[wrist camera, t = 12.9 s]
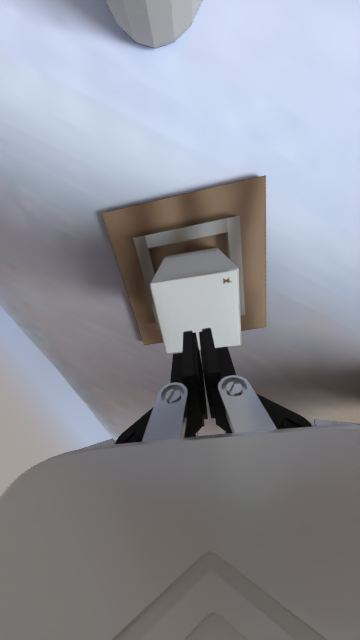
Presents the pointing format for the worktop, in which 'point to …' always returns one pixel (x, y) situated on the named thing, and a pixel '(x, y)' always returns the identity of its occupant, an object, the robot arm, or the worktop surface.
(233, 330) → the supplement box
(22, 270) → the worktop surface
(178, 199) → the pocket board
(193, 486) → the robot arm
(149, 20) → the soap bottle
